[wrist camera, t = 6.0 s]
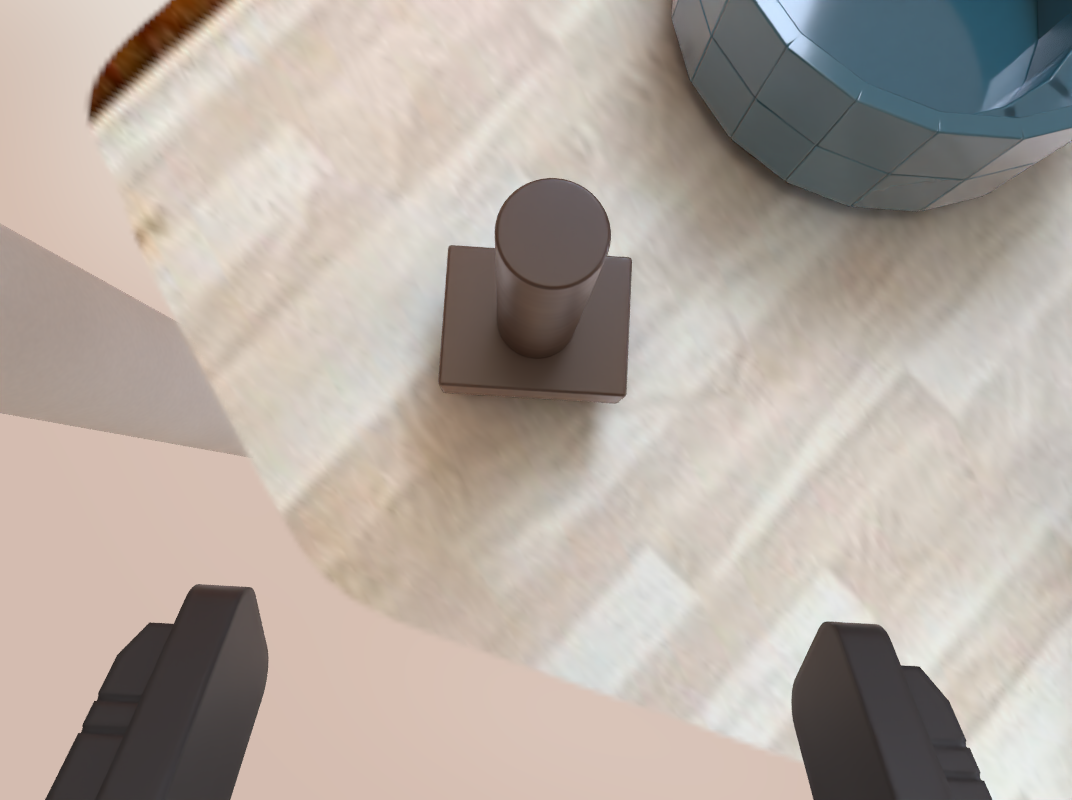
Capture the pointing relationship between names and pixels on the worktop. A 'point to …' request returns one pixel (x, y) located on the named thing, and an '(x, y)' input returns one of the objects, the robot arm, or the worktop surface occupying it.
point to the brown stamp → (539, 303)
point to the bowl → (885, 91)
